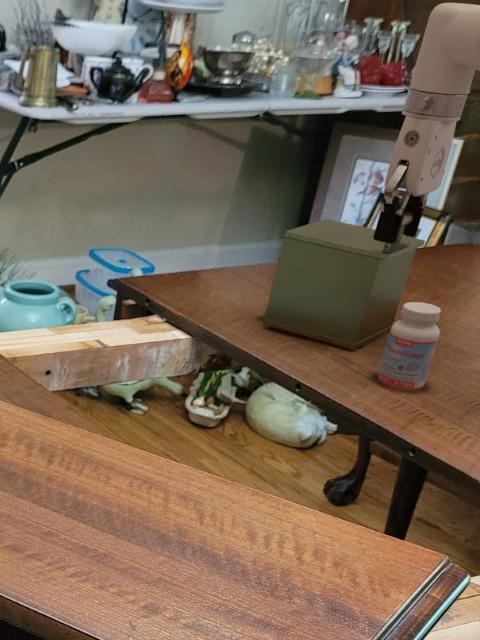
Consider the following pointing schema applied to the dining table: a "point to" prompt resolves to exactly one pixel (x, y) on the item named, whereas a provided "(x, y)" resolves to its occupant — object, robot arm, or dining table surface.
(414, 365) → the pill bottle
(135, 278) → the dining table surface
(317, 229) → the bin lid
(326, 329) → the waste bin
